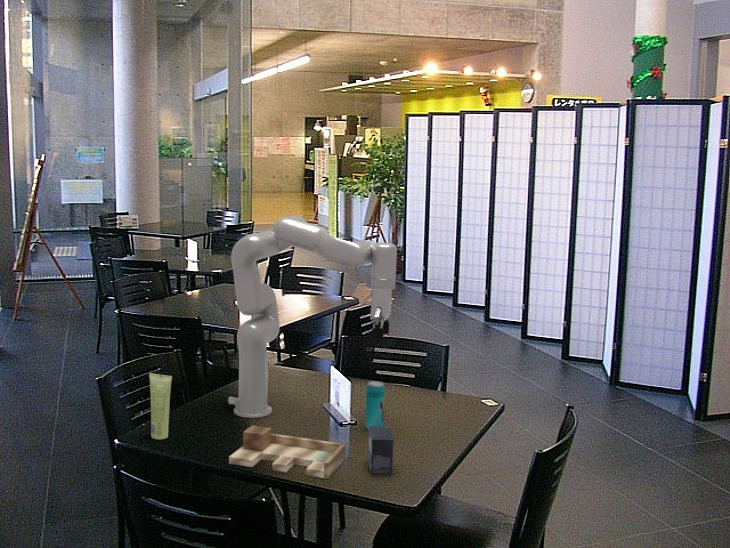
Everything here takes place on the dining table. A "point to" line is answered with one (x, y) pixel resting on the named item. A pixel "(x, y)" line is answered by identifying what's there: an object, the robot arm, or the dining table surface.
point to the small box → (380, 450)
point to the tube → (160, 405)
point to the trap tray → (295, 455)
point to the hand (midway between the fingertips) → (380, 337)
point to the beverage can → (375, 404)
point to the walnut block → (257, 438)
